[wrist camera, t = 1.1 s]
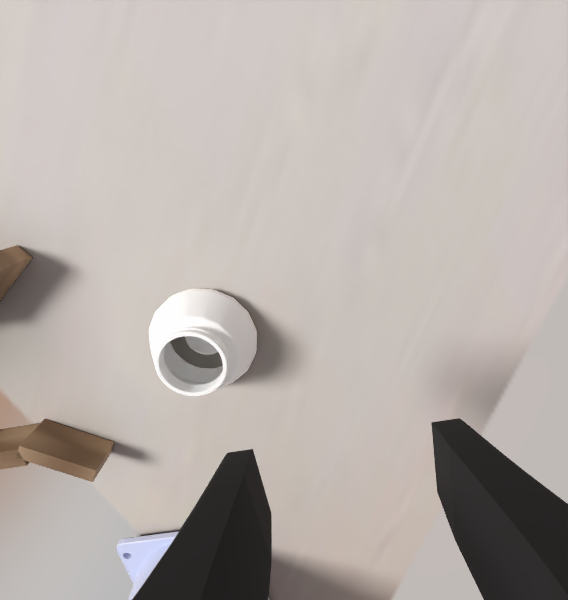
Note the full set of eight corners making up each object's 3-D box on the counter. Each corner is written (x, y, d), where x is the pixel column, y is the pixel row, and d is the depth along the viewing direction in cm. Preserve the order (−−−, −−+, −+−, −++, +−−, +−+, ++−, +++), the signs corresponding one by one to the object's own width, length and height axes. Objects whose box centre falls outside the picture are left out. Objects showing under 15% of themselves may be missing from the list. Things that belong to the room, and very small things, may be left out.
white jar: (209, 396, 19) (278, 337, 18) (195, 435, 17) (276, 368, 15) (134, 332, 18) (202, 264, 17) (105, 362, 15) (185, 283, 14)
